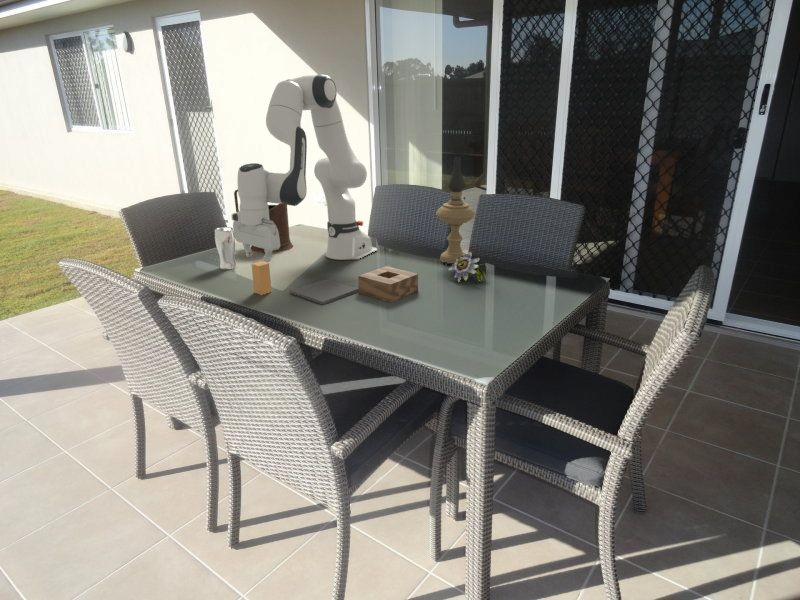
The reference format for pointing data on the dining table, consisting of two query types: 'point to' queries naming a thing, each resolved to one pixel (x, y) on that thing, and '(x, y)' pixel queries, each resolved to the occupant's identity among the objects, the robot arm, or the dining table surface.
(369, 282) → the socket block
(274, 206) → the rusty metal jug
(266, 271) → the pin
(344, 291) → the mat
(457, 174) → the oil lamp
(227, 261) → the beer glass
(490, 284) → the dining table surface
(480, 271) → the passion flower
